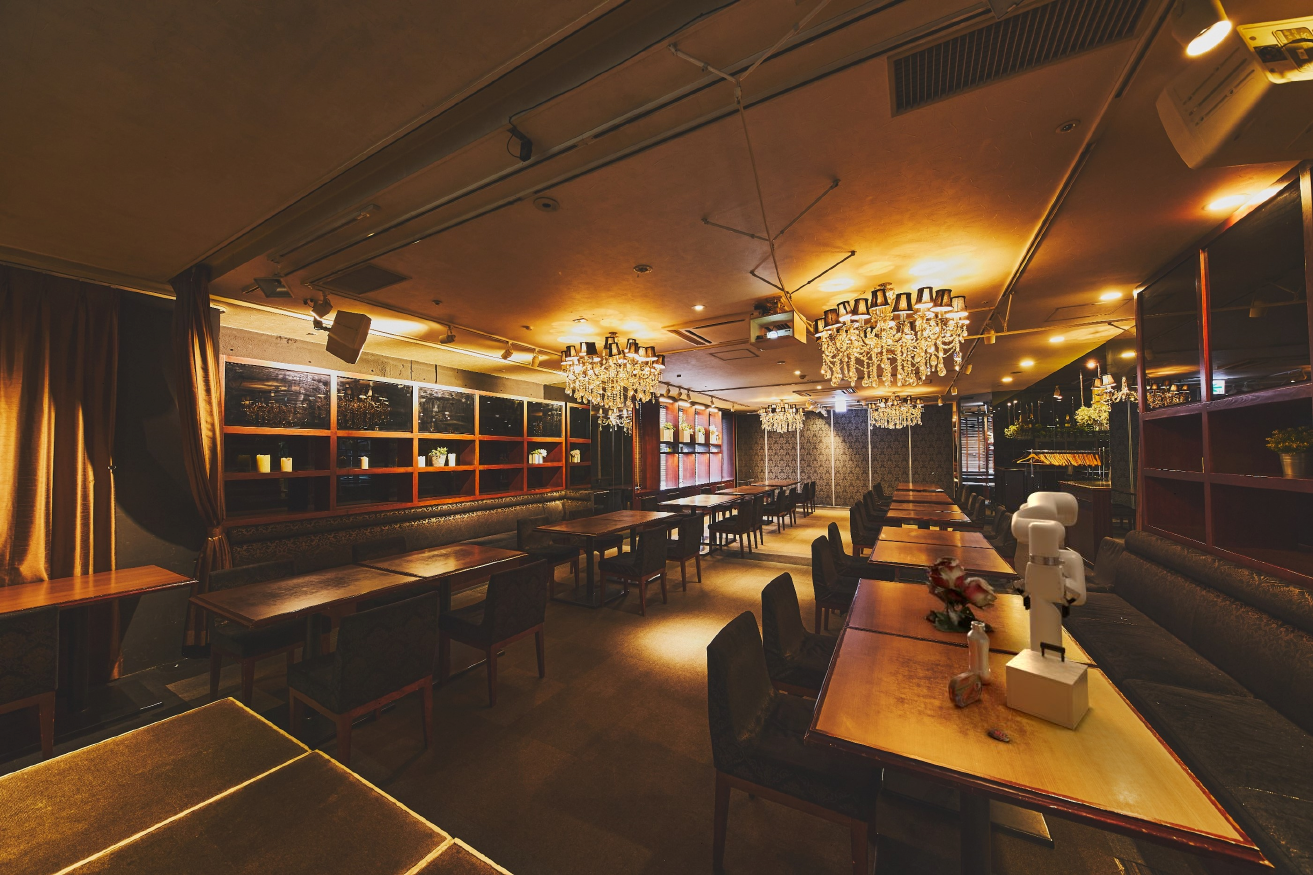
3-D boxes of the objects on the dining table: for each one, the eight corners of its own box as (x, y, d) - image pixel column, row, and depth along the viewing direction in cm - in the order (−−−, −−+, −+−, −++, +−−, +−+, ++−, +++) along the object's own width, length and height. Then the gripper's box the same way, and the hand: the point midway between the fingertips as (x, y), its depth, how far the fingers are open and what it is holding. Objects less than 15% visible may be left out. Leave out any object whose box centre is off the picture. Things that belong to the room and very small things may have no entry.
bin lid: (1024, 651, 158) (1024, 634, 158) (1088, 668, 145) (1087, 650, 146) (1005, 667, 147) (1005, 649, 147) (1072, 687, 134) (1071, 668, 134)
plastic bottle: (995, 687, 158) (993, 627, 159) (973, 685, 159) (971, 626, 160) (986, 677, 164) (984, 620, 165) (964, 676, 166) (962, 619, 166)
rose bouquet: (1007, 632, 204) (1004, 563, 205) (940, 632, 205) (938, 563, 206) (968, 611, 230) (966, 550, 231) (909, 612, 230) (907, 551, 231)
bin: (1025, 687, 157) (1024, 651, 158) (1088, 708, 145) (1087, 669, 145) (1006, 705, 147) (1005, 667, 147) (1073, 729, 134) (1072, 687, 134)
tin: (956, 710, 145) (955, 682, 145) (946, 705, 147) (945, 678, 148) (984, 697, 152) (983, 671, 152) (973, 693, 154) (972, 667, 155)
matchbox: (986, 734, 132) (986, 733, 132) (992, 728, 135) (992, 726, 135) (1006, 743, 128) (1006, 741, 128) (1012, 735, 131) (1012, 734, 131)
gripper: (1082, 563, 149) (1084, 618, 148) (1016, 554, 163) (1017, 604, 162) (1075, 567, 145) (1077, 623, 144) (1008, 557, 158) (1010, 608, 158)
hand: (1046, 613), depth 153 cm, fingers open, 9 cm apart
